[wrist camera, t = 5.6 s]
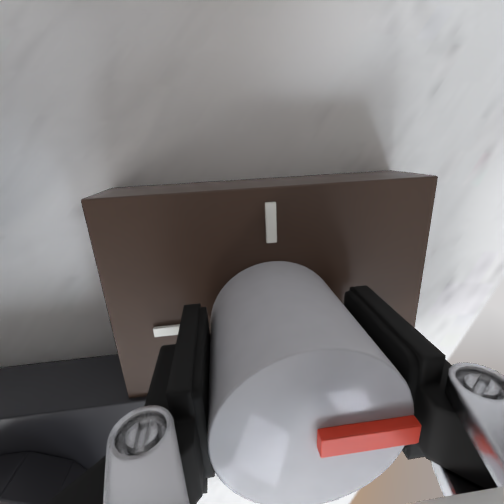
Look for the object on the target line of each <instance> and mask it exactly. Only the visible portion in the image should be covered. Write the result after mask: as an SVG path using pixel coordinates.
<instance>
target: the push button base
mask: <svg viewBox="0 0 504 504" xmlns="http://www.w3.org/2000/svg"><path fill="white" fill-rule="evenodd" d="M146 398H147V396H145V397H137V398H129V397H128V392H127V388H126V384H125V380H124V376H123V372H122V368H121V364H120V359H119V355H110V356H101V357H92V358H83V359H75V360H66V361H57V362H48V363H39V364H30V365H22V366H13V367H4V368H0V504H46V503H48V502H49V501H50V500H51V499H52V498H54V497H55V496H56V495H57V494H59V493H60V492H61V491H62V490H64V489H65V488H66V487H67V486H68V485H70V484H71V483H72V482H73V481H75V480H76V479H77V478H78V477H80V476H81V475H82V474H83V473H84V472H86V471H87V470H88V469H89V468H91V467H92V466H93V465H94V464H96V463H97V462H98V461H99V460H100V459H102V458H103V457H104V456H105V455H106V447H107V441H108V436H109V434H110V432H111V430H112V429H113V427H114V425H115V424H116V423H117V422H118V421H119V420H120V419H121V418H122V417H124V416H125V415H126V414H128V413H129V412H131V411H133V410H135V409H137V408H139V407H143V406H144V405H145V401H146ZM196 504H197V503H196Z"/></svg>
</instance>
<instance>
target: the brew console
mask: <svg viewBox="0 0 504 504" xmlns="http://www.w3.org/2000/svg"><path fill="white" fill-rule="evenodd" d="M437 178H438V177H437V176H434V175H425V174H417V173H408V172H399V171H391V170H390V171H374V172H358V173H342V174H326V175H310V176H294V177H278V178H262V179H246V180H230V181H214V182H198V183H182V184H166V185H151V186H135V187H119V188H111V189H108V190H106V191H103V192H100V193H97V194H95V195H92V196H89V197H86V198H84V199H82V200H81V203H82V207H83V211H84V215H85V219H86V223H87V227H88V232H89V236H90V240H91V244H92V248H93V252H94V256H95V260H96V265H97V269H98V273H99V277H100V281H101V285H102V289H103V293H104V298H105V302H106V306H107V310H108V314H109V318H110V322H111V326H112V331H113V335H114V339H115V343H116V347H117V351H118V355H119V359H120V364H121V368H122V372H123V376H124V380H125V384H126V388H127V392H128V397H129V398H137V397H145V396H147V394H148V391H149V387H150V383H151V380H152V376H153V373H154V369H155V366H156V362H157V358H158V355H159V351H160V348H161V346H163V345H171V344H176V341H177V336H178V331H179V327H180V322H181V317H182V312H183V307H184V305H189V304H198V303H200V305H201V307H207V314H208V322H209V330H210V329H211V313H212V309H213V305H214V302H215V300H216V298H217V296H218V294H219V293H220V291H221V289H222V288H223V287H224V286H225V285H226V283H227V282H228V281H229V280H231V279H232V278H233V277H234V276H235V275H237V274H238V273H240V272H241V271H243V270H245V269H247V268H249V267H251V266H254V265H257V264H260V263H264V262H271V261H286V262H292V263H296V264H299V265H302V266H305V267H307V268H308V269H310V270H312V271H313V272H315V273H316V274H317V275H319V276H320V277H321V278H322V279H323V281H324V282H325V283H326V284H327V285H328V287H329V288H330V289H331V290H332V291H333V293H334V294H335V295H336V296H337V297H338V299H339V300H340V301H341V302H342V304H343V305H344V295H345V292H346V291H349V289H350V287H355V286H364V285H367V286H368V287H369V288H370V289H372V290H373V291H374V292H375V293H376V294H377V295H378V296H379V297H380V298H382V299H383V300H384V301H385V302H386V303H387V304H388V305H389V306H391V307H392V308H393V309H394V310H395V311H396V312H397V313H398V314H399V315H401V316H402V317H403V318H404V319H405V320H406V321H407V322H408V323H409V324H411V325H412V326H413V327H415V320H416V314H417V307H418V301H419V294H420V288H421V282H422V275H423V269H424V262H425V256H426V249H427V243H428V236H429V230H430V224H431V217H432V211H433V204H434V198H435V191H436V185H437Z"/></svg>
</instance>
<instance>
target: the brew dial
mask: <svg viewBox="0 0 504 504" xmlns="http://www.w3.org/2000/svg"><path fill="white" fill-rule="evenodd" d="M421 427H422V426H421V424H420V422H419V421H418V420H417V418H416V417H415V416H414V403H413V399H412V395H411V391H410V389H409V387H408V385H407V382H406V381H405V379H404V378H403V377H402V375H401V374H400V372H399V371H398V370H397V369H396V368H395V366H394V365H393V364H392V363H391V362H390V360H389V359H388V358H387V357H386V356H385V354H384V353H383V352H382V351H381V350H380V348H379V347H378V346H377V345H376V343H375V342H374V341H373V340H372V339H371V337H370V336H369V335H368V334H367V333H366V331H365V330H364V329H363V328H362V327H361V325H360V324H359V323H358V322H357V320H356V319H355V318H354V317H353V316H352V314H351V313H350V312H349V311H348V310H347V308H346V307H345V306H344V305H343V304H342V302H341V301H340V300H339V299H338V297H337V296H336V295H335V294H334V293H333V291H332V290H331V289H330V288H329V287H328V285H327V284H326V283H325V282H324V281H323V279H322V278H321V277H320V276H319V275H317V274H316V273H315V272H313V271H312V270H310V269H308V268H307V267H305V266H302V265H299V264H296V263H292V262H286V261H271V262H264V263H260V264H257V265H254V266H251V267H249V268H247V269H245V270H243V271H241V272H240V273H238V274H237V275H235V276H234V277H233V278H232V279H231V280H229V281H228V282H227V283H226V285H225V286H224V287H223V288H222V289H221V291H220V293H219V294H218V296H217V298H216V300H215V302H214V305H213V309H212V313H211V329H210V363H209V397H208V431H207V446H208V454H209V458H210V462H211V464H212V466H213V469H214V471H215V473H216V474H217V476H218V477H219V479H220V480H221V481H222V482H223V483H224V484H225V485H226V486H227V487H228V488H229V489H230V490H232V491H233V492H234V493H236V494H238V495H239V496H241V497H243V498H245V499H247V500H250V501H252V502H255V503H258V504H324V503H327V502H330V501H334V500H337V499H339V498H342V497H344V496H347V495H349V494H351V493H353V492H355V491H357V490H359V489H361V488H362V487H364V486H366V485H367V484H369V483H370V482H372V481H373V480H374V479H375V478H377V477H378V476H379V475H381V473H383V472H384V471H385V470H386V469H387V468H388V467H389V466H390V465H391V464H392V463H393V462H394V460H395V459H396V458H397V456H398V455H399V454H400V452H401V451H402V449H403V448H404V446H405V445H410V444H416V443H418V442H419V437H420V432H421Z"/></svg>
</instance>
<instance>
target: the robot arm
mask: <svg viewBox="0 0 504 504" xmlns="http://www.w3.org/2000/svg"><path fill="white" fill-rule="evenodd" d="M344 306H345V307H346V308H347V310H348V311H349V312H350V313H351V314H352V316H353V317H354V318H355V319H356V320H357V322H358V323H359V324H360V325H361V327H362V328H363V329H364V330H365V331H366V333H367V334H368V335H369V336H370V337H371V339H372V340H373V341H374V342H375V343H376V345H377V346H378V347H379V348H380V350H381V351H382V352H383V353H384V354H385V356H386V357H387V358H388V359H389V360H390V362H391V363H392V364H393V365H394V366H395V368H396V369H397V370H398V371H399V372H400V374H401V375H402V377H403V378H404V379H405V381H406V382H407V385H408V387H409V389H410V391H411V395H412V399H413V403H414V416H415V417H416V418H417V420H418V421H419V422H420V424H421V426H422V427H421V432H420V437H419V442H418V443H416V444H410V445H405V446H404V448H403V449H402V451H403V452H404V454H405V456H406V457H407V458H408V459H414V458H420V457H426V459H428V460H430V461H431V463H432V468H433V470H434V473H435V475H436V478H437V480H438V483H439V485H440V488H441V490H442V493H443V495H444V497H440V498H435V499H429V500H423V501H418V502H413V503H407V504H504V375H502V374H501V373H499V372H498V371H496V370H493V369H491V368H489V367H486V366H483V365H479V364H475V363H468V362H466V363H457V364H454V365H451V364H450V363H449V362H448V361H446V360H445V355H444V354H443V353H442V352H441V351H440V350H439V349H437V348H436V347H435V346H434V345H433V344H432V343H431V342H430V341H428V340H427V339H426V338H425V337H424V336H423V335H422V334H421V333H420V332H418V331H417V330H416V329H415V328H414V327H413V326H412V325H411V324H409V323H408V322H407V321H406V320H405V319H404V318H403V317H402V316H401V315H399V314H398V313H397V312H396V311H395V310H394V309H393V308H392V307H391V306H389V305H388V304H387V303H386V302H385V301H384V300H383V299H382V298H380V297H379V296H378V295H377V294H376V293H375V292H374V291H373V290H372V289H370V288H369V287H368V286H367V285H364V286H355V287H350V289H349V291H346V292H345V295H344ZM209 363H210V330H209V322H208V314H207V307H201V305H200V303H198V304H189V305H184V307H183V312H182V317H181V322H180V327H179V331H178V336H177V341H176V344H171V345H163V346H161V348H160V351H159V355H158V358H157V362H156V366H155V369H154V373H153V376H152V380H151V383H150V387H149V391H148V394H147V398H146V401H145V405H144V406H143V407H139V408H137V409H135V410H133V411H131V412H129V413H128V414H126V415H125V416H124V417H122V418H121V419H120V420H119V421H118V422H117V423H116V424H115V425H114V427H113V429H112V430H111V432H110V434H109V436H108V441H107V447H106V455H105V456H104V457H103V458H102V459H100V460H99V461H98V462H97V463H96V464H94V465H93V466H92V467H91V468H89V469H88V470H87V471H86V472H84V473H83V474H82V475H81V476H80V477H78V478H77V479H76V480H75V481H73V482H72V483H71V484H70V485H68V486H67V487H66V488H65V489H64V490H62V491H61V492H60V493H59V494H57V495H56V496H55V497H54V498H52V499H51V500H50V501H49V502H48V503H46V504H196V503H197V502H198V500H199V499H200V498H201V497H202V494H203V493H207V478H210V477H214V476H215V471H214V469H213V466H212V464H211V462H210V458H209V454H208V446H207V431H208V397H209Z"/></svg>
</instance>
